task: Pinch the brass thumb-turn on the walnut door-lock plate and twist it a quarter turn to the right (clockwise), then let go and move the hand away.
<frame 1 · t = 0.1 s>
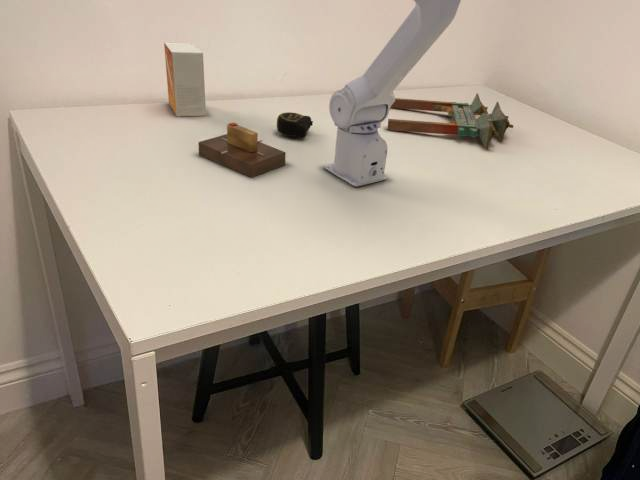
small box: (187, 111, 122), on the table
thumb turn: (242, 137, 101), point 4 cm above the table, hinge at 0.0°
tape measure: (296, 135, 119), on the table
miniature gate: (447, 127, 138), on the table
lock plate: (242, 160, 104), on the table
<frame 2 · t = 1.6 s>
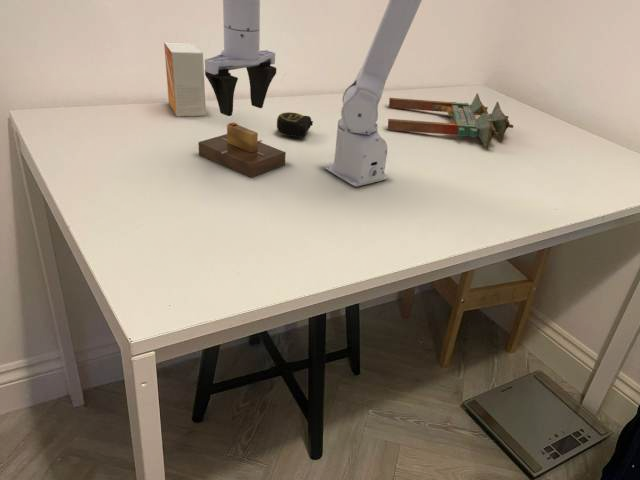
hand: (242, 110, 99), 9 cm above the table, tool pointing down, fingers open, 7 cm apart
nothing on the table moved.
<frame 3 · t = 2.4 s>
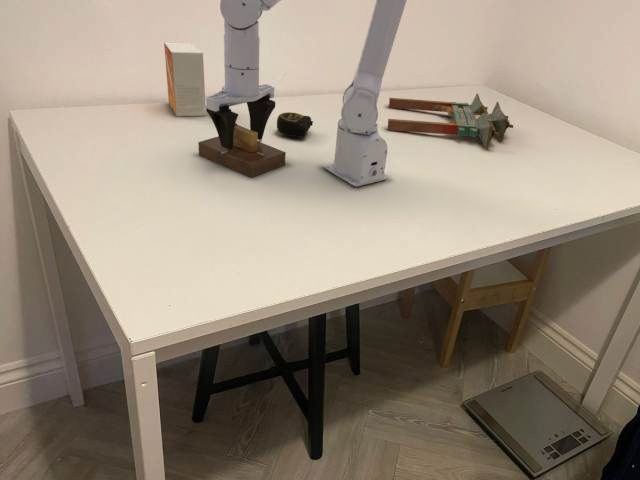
hand: (242, 142, 102), 3 cm above the table, tool pointing down, fingers open, 7 cm apart
nothing on the table moved.
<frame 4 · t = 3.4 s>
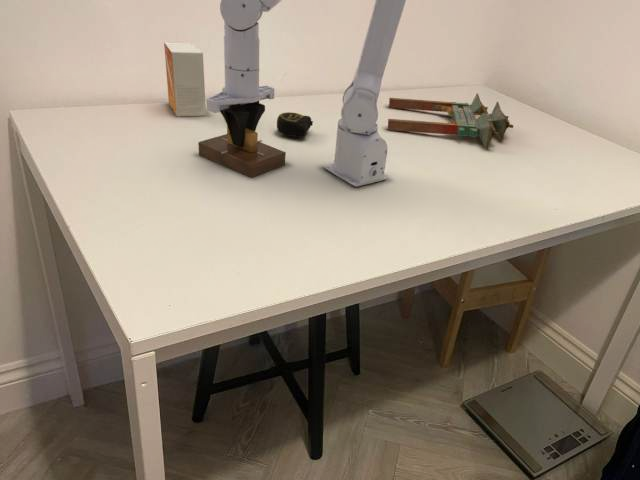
hand: (242, 143, 102), 3 cm above the table, tool pointing down, fingers closed on thumb turn, 2 cm apart
thumb turn: (242, 137, 101), point 4 cm above the table, hinge at 0.0°, touching gripper
everything else where it was.
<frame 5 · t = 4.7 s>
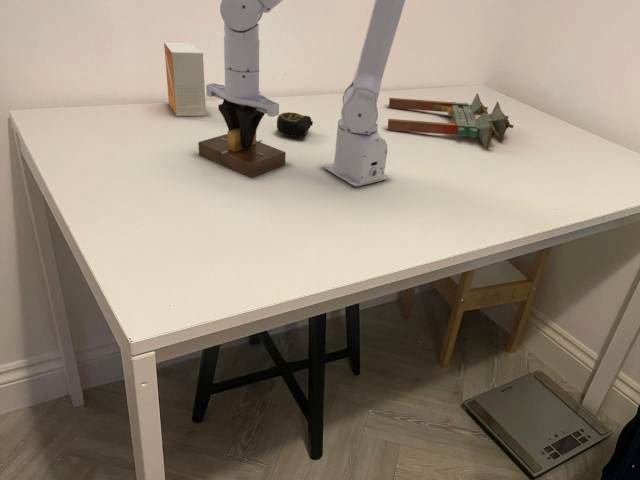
hand: (242, 144, 102), 3 cm above the table, tool pointing down, fingers closed, pressing on thumb turn
thumb turn: (242, 137, 101), point 4 cm above the table, hinge at -86.1°, touching gripper
everything else where it was.
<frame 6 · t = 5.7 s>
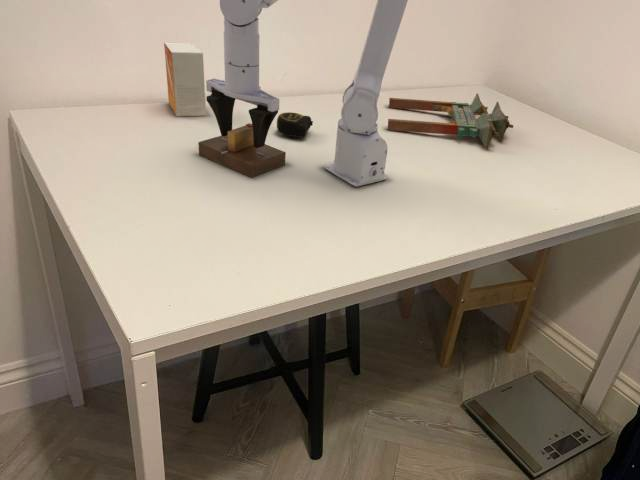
hand: (242, 140, 102), 4 cm above the table, tool pointing down, fingers open, 7 cm apart
thumb turn: (242, 137, 101), point 4 cm above the table, hinge at -86.1°
everything else where it was.
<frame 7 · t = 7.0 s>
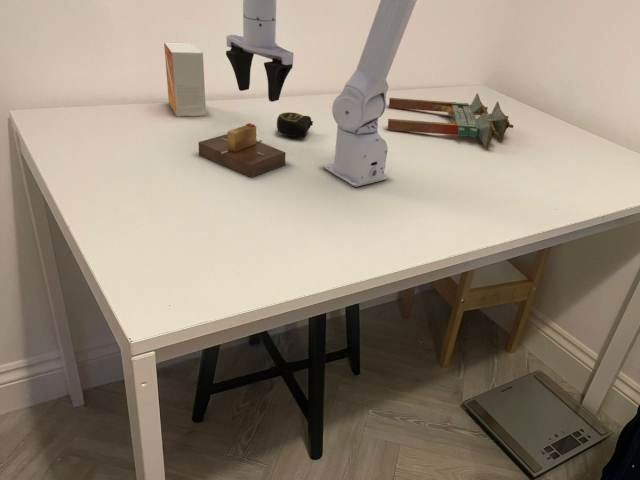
hand: (258, 95, 107), 9 cm above the table, tool pointing down, fingers open, 7 cm apart
nothing on the table moved.
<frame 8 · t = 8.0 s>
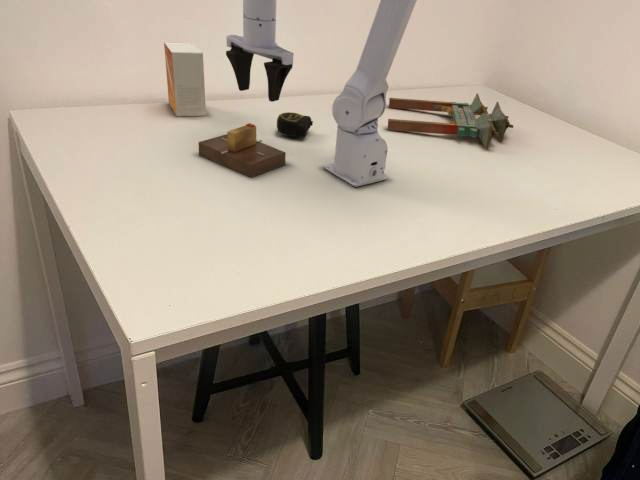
hand: (258, 95, 107), 9 cm above the table, tool pointing down, fingers open, 7 cm apart
nothing on the table moved.
at the end: thumb turn at -86° (first picture: +0°); the gripper is holding nothing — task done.
